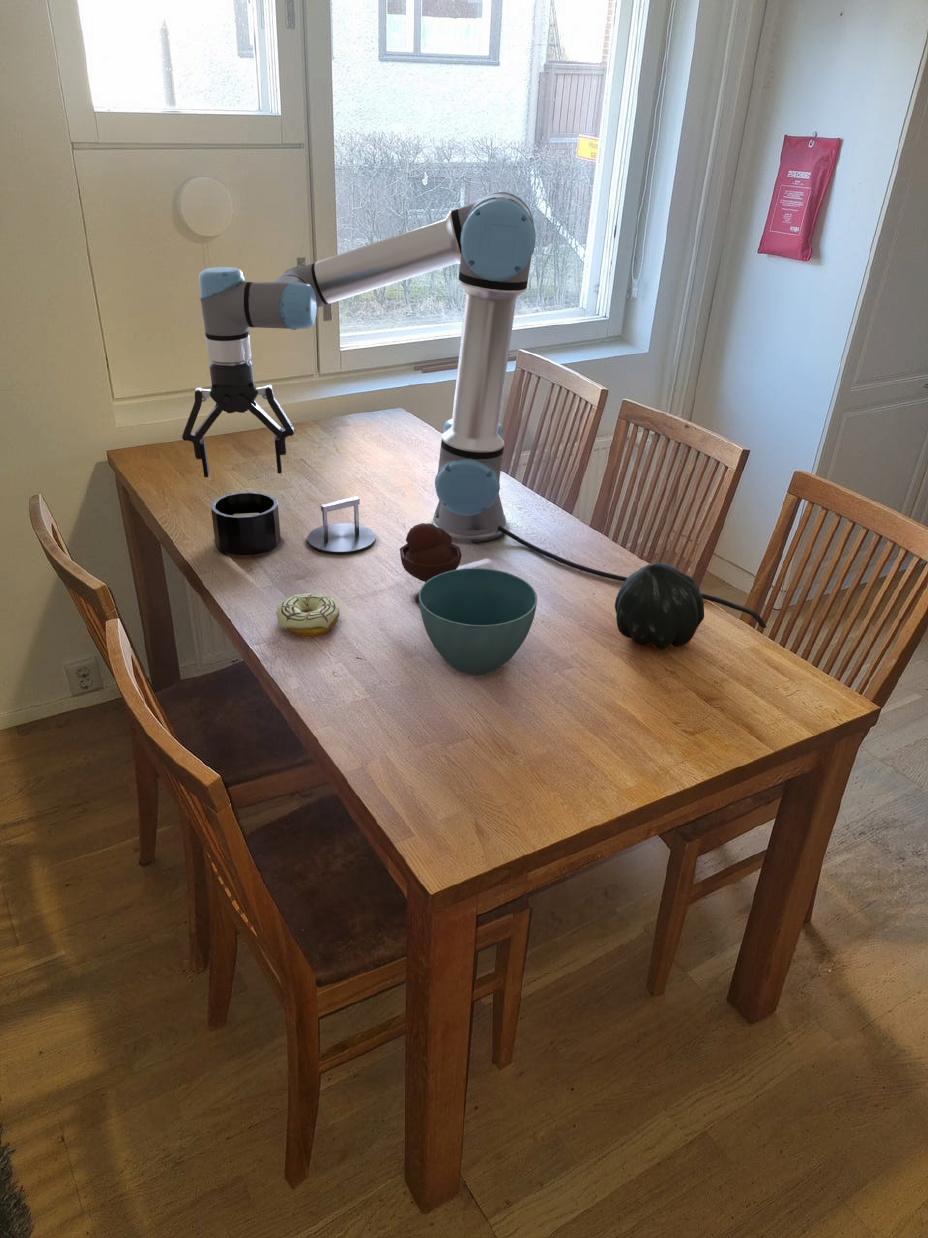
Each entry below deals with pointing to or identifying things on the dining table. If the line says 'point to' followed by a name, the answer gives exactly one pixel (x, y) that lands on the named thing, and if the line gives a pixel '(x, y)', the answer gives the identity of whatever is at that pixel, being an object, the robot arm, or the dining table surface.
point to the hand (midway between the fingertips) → (243, 472)
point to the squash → (659, 606)
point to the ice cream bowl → (429, 553)
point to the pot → (246, 523)
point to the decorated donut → (308, 614)
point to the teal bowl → (477, 617)
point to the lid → (341, 532)
